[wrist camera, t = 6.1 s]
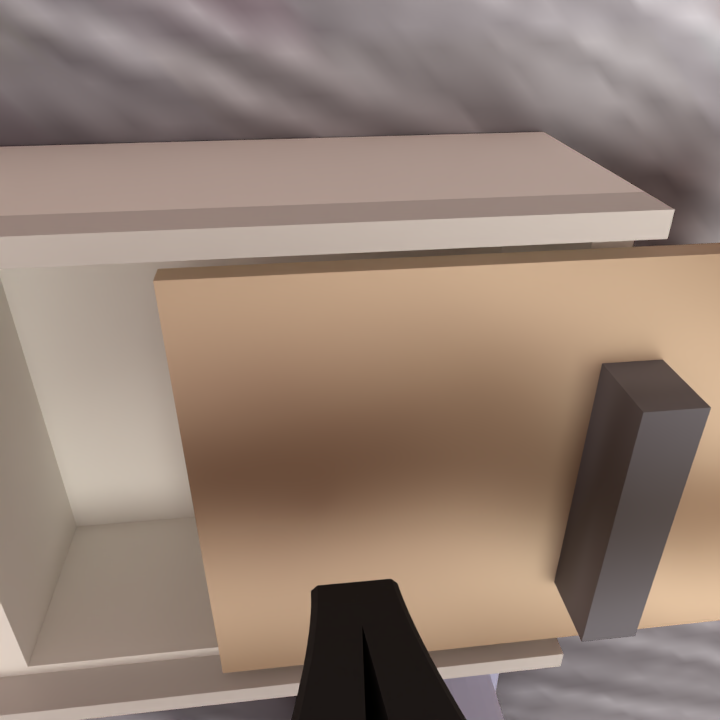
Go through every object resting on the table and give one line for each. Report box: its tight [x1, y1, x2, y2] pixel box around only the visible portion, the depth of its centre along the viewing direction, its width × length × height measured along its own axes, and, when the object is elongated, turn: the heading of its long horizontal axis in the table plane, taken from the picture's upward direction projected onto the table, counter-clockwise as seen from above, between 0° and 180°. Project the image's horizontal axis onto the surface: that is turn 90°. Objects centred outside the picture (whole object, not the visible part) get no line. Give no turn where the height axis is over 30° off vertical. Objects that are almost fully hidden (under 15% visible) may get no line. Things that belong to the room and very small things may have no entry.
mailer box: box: [0, 132, 675, 720], centre depth 16 cm, size 12×14×6 cm
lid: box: [153, 243, 720, 673], centre depth 13 cm, size 10×14×2 cm
